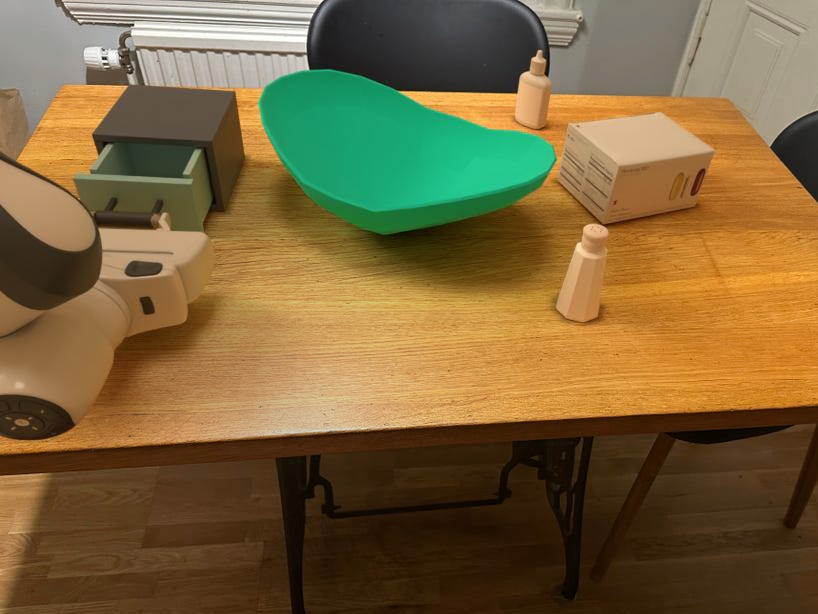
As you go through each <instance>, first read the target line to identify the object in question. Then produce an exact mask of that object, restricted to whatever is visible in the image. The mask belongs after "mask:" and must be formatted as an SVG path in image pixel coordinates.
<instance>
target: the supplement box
mask: <svg viewBox="0 0 818 614" xmlns="http://www.w3.org/2000/svg"><path fill="white" fill-rule="evenodd" d="M564 137H565V138H564V143H563V147H562V152H561V156H560V157H561V158H560V161H559V162H560V163H559V167H558V172H557V177H556V181H557V182H559V183H560V184H561V185H562V186H563V187H564V188H565V189H566V190H567V191H568V192H569V193H570V194H571V195H572V196H573V197H574V199H576V200H577V201H578V202H579V203H580V204H581V205H582V206H583V207H584V208H585V209H587V211H589V212H590V213H591V214H592V215H593V216H594V217H595V218H596V219H597V220H598V221H599V223H601V225H606V224H613V223H617V222H623V221H627V220H632V219H639V218H643V217H648V216H653V215H659V214H665V213H669V212H675V211H680V210H684V209H691V208H694V207H696V205H697V202H698V199H699V196H700V194H701V191H702V188H703V185H704V183H705V180H706V177H707V174H708V171H709V168H710V165H711V163H712V160H713V157H714V155H715V153H716V149H714V148H713V147H712V146H710V145H709V144H708V143H707V142H705V141H703V140H702V139H701V138H699V137H697V136H696V135H695V134H693V133H692V132H690V131H689V130H687V129H686V128H684V127H683V126H682V125H680V124H679V123H678V122H676V121H674V120H673V119H672V118H670V117H668V116H667V115H666V114H665V113H663V112H661V111H657V112H652V113H644V114H635V115H628V116H620V117H613V118H605V119H596V120H590V121H589V120H588V121H579V122H568V123H567V128H566V134H565V136H564Z"/></svg>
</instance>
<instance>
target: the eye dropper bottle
mask: <svg viewBox="0 0 818 614" xmlns="http://www.w3.org/2000/svg"><path fill="white" fill-rule="evenodd" d="M546 66H547V59H545V57H543V50H541V49H538V50H537V52H536V56H533V57H532V58H531V59H530V66H529V70H528V71H524V72H523V73H521V74H520V76H519V81H518V86H517V96H516V102H515V110H514V119H515V121H517V122H518V123H519V124H520V125H522V126H525V127H527V128H530V129H534V130H539V129H542V128H544V127H545V126H546V125H547V124H546V123H547V117H548V112H549V106H550V100H551V94H552V81H551V80H550V79H549V77H548V76H547V75H546V74H545V72H546Z"/></svg>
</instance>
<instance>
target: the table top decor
mask: <svg viewBox="0 0 818 614" xmlns="http://www.w3.org/2000/svg"><path fill="white" fill-rule="evenodd" d="M257 105H258V110H259V116H260V120H261V126H262V127H263V130H264V132H265V134H266V136H267V138H268V140H269V141H270V144H271V145H272V148H273V149H274V151H275V153H276V155H277V156H278V159H279V161H280V162H281V164H282V166H283V168H285V170H286V171H287V172H288V174H289V175H290V176H291V177H292V179H293V180H294V181H295V183H296V184H298V186H299V188H301V190H302V191H303V192H304V194H306V196H307V197H308V198H310V200H312V201H313V202H314V203H315V204H316V206H318V207H320V208H321V209H323V210H325V211H327V212H328V213H330V214H332V215H334V216H336V217H338V218H340V219H341V220H343V221H346V222H347V223H349V224H351V225H353V226H354V227H356V228H358V229H361V230H366V231H369V232H372V233H376V234H380V235H383V236H385V235H391V234H397V233H401V232H408V231H413V230H414V231H416V230H417V231H418V230H424V229H429V228H434V227H438V226H443V225H446V224H450V223H451V224H452V223H454V222H459V221H463V220H466V219H470V218H474V217H475V218H476V217H479V216H482V215H486V214H489V213H493V212H496V211H498V210H501V209H504V208H507V207H510V206H511V205H513V204H515V203H517V202H518V201H520V200H522V199H523V198H525V197H527V196H529V195H530V194H532V193H534V192H535V191H537V190H538V189H540V188H542V186H543V185H544V183H545V181H546V180H547V178H548V176H549V175H550V173H551V171H552V170H553V168H554V166H555V165H556V163H557V161H558V159H557V158H558V157H557V154H556V151H555V146H554V145H553V144H552V143H550V142H549V141H547V140H546V139H544V138H543V137H541V136H539V135H536V134H532V133H528V132H524V131H520V130H515V129H513V130H512V129H498V128H497V129H495V128H488V127H485V126H484V125H483V126H482V125H480V124H477V123H475V122H472V121H469V120H467V119H464V118H461V117H459V116H456V115H452V114H449V113H446V112H443V111H439V110H436V109H433V108H429V107H426V106H425V105H423V104H421V103H420V102H418V101H416V100H414V99H413V98H411V97H409V96H407V95H405V94H404V93H402V92H400V91H398V90H397V89H395V88H393V87H390V86H387V85H385V84H382V83H380V82H377V81H374V80H373V79H370V78H367V77H365V76H362V75H359V74H354V73H349V72H344V71H340V70H334V69H329V68H328V69H327V68H326V69H307V70H306V69H304V70H303V69H302V70H299V71H295V72H292V73H288V74H285V75H282V76H279V77H278V78H276V79H274V80H273V81H272V82H270V83H268V84H266V85H265V86H264V87H263V90H262V92H261V94H260V97H259V99H258V101H257Z"/></svg>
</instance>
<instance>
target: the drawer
mask: <svg viewBox="0 0 818 614" xmlns="http://www.w3.org/2000/svg"><path fill="white" fill-rule="evenodd" d="M72 179H73V183H74V185H75V189H76V191H77V194H78V197H79V198H78V199H79V200H80V201H81V202H82V203H83V204H84V205H85V206H86V207H87V208H88V210H97V211H96V214H95V221H96V223H97V226H98V227H99V228H103V229H132V230H153V226H152V224H151V221H150V219H151V217H152V216H153V213H168V214H169V217H170V221H171V228H170V229H171V231H188V232H203V233H205V228H204V221H205V219H206V217H207V214H208V212H209V211H208V210H209V207H210V205H211V203H212V200H213V198H214V195H215V194H214V189H213V183H212V178H211V173H210V168H209V162H208V157H207V152H206V147H191V146H173V145H155V144H137V143H120V142H108V144H107V145H106V147H105V148H104V149H103V151H102V152H101V154H100V155H99V156H98V157H97V158H96V159H95V161H94V162H93V164H92V165H91V166H90V168H89V173H81V172H77V173H75V174H74V176H73V178H72ZM205 234H206V233H205Z"/></svg>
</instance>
